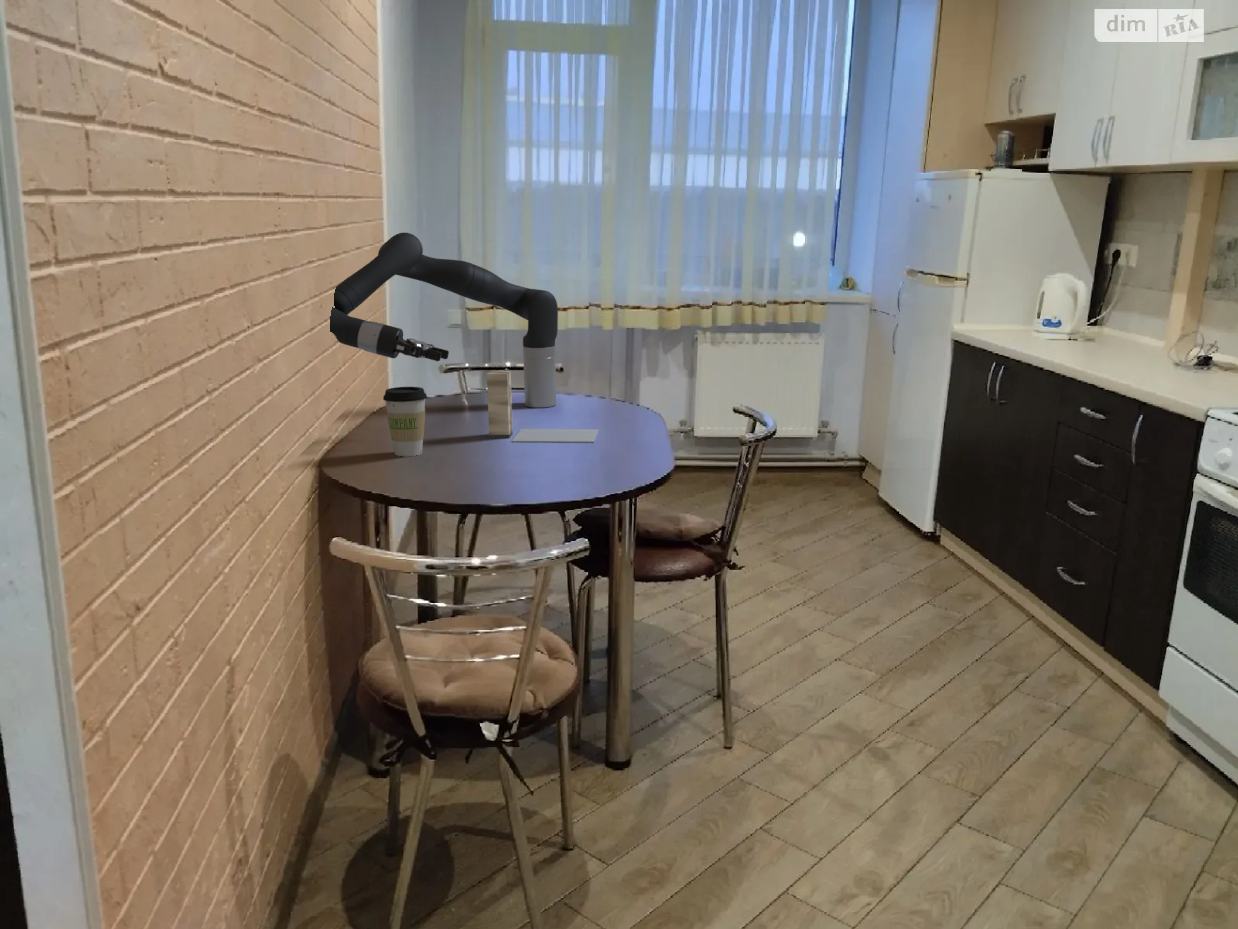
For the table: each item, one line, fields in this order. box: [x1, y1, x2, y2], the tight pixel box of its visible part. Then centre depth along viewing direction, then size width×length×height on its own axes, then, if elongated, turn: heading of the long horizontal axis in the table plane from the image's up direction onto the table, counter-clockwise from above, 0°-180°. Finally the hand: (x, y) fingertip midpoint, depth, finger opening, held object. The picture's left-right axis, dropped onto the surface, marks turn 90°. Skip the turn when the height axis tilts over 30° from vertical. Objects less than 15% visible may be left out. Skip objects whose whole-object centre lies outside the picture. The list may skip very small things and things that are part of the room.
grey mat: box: [511, 428, 600, 444], centre depth 243 cm, size 14×20×1 cm
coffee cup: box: [382, 386, 428, 458], centre depth 224 cm, size 10×10×15 cm
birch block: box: [486, 370, 513, 439], centre depth 242 cm, size 5×5×16 cm
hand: (444, 356), depth 238 cm, fingers open, 8 cm apart
